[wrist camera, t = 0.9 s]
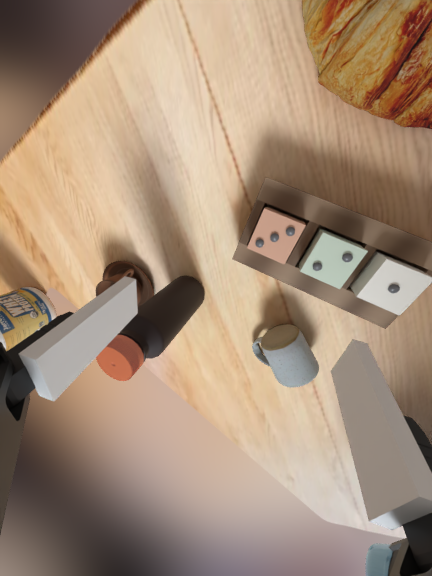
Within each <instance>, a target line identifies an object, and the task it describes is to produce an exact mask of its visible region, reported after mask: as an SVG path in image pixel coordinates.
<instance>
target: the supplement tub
mask: <svg viewBox="0 0 432 576" xmlns="http://www.w3.org/2000/svg"><path fill="white" fill-rule="evenodd" d="M55 318H56V311H55V308H54V306H53V304H52V302H51V301H50V299H49V298H48V297H47V296H46V295H45V294H44V293H43V292H42V291H40V290H38V289H36V288H33V287H24V288H21V289H18V290H15V291H12V292H9V293H6V294H3V295H1V296H0V342H2V344H3V346H4V348H5V350H6V351H8V350H9V349H11V348H13V347H14V346H15V345H17V344H18V343H20V342H21V341H23V340H24V339H26V338H27V337H29V336H30V335H31V334H33V333H34V332H36V331H37V330H40V328H42V327H43V326H45V325H47V324H48V323H49V322H50V321H52V320H53V319H55Z"/></svg>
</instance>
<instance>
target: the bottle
mask: <svg viewBox="0 0 432 576" xmlns="http://www.w3.org/2000/svg"><path fill="white" fill-rule="evenodd" d="M203 300H204V290H203V287H202V286H201V284H200V283H199V282H198V281H197V280H196V279H194V278H192V277H189V276H182V277H179V278H177V279H175V280H174V281H173V282H171V283H170V284H169V285H167V286H166V287H165V288H163V289H162V290H161V291H159V292H158V293H157V294H155V295H154V296H153V297H151V298H150V299H149V300H147V301H146V302H145V303H143V304H142V305H141V306H139V307H138V313H137V314H136V316H135V317H134V318H133V319H132V320H131V321H130V322H129V323H128V324H127V325H126V326H125V327H124V328H123V329H122V330H121V331H120V333H118V334H117V336H116V337H115V338H114V339H113V340H112V341H111V342H110V343H109V344H108V345H107V346H106V347H105V348H104V349H103V350H102V351H101V352H100V353H99V355H98V356H97V357H96V358H97V362H98V364H99V366H100V367H101V369H102V370H103V371H104V372H105V373H106V374H107V375H109V376H110V377H112V378H114V379H116V380H120V381H126V380H129V379H130V378H131V377H132V376H133V375H134V374H135V372H136V371H137V370H138V369H139V368H140V367H141V365H142V364H143V362H144V361H145V359H146V358H154V357H157V356H159V355H160V354H161V353H162V352H163V351H164V350H165V348H166V347H167V346H168V345H169V344H170V342H171V341H172V340H173V339H174V337H175V336H176V335H177V334H178V332H179V331H180V330H181V329H182V328H183V326H184V325H185V324H186V323H187V321H188V320H189V319H190V318H191V316H192V315H193V314H194V313H195V311H196V310H197V309H198V308H199V307H200V305H201V304H202V303H203Z"/></svg>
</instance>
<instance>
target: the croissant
mask: <svg viewBox="0 0 432 576" xmlns="http://www.w3.org/2000/svg"><path fill="white" fill-rule="evenodd" d="M302 11H303V18H304V22H305V24H304V31H305V34H306V37H307V43H308V46H309V49H310V51H311V53H312V55H313V57H314V60H315V63H316V65H317V67H318V70H319V76H318V82H319V83H320V84H321V85H323V86H324V87H326V88H327V89H328V90H329V91H331V92H333V93H334V94H336V95H339V97H340V98H341V99H342V100H343V101H344V102H346V103H348V104H350V105H352V106H354V107H356V108H358V109H363V110H366V111H368V112H369V113H371V114H372V115H375V116H378V117H381V118H385V119H389V120H394V122H395V123H396V124H398V125H400V126H402V127H425V128H429V129H432V0H302Z"/></svg>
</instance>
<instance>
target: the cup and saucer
mask: <svg viewBox="0 0 432 576" xmlns="http://www.w3.org/2000/svg"><path fill="white" fill-rule="evenodd" d="M125 276H126V277H130V278H133V279H136V288H137V308H138V307H139V306H141V305H142V304H143V303H145V302H146V301H147V300H149V299H150V298H151V297H153V296H154V292H153V287H152V285H151V282H150V280H149V279H148V277H147V276H146V274H145V273H144V272H143V271H142V270H141V269H140V268H138V267H137V266H135V265H134V264H132V263H129V262H125V261H117V262H113V263H111V264H109V265H108V266H107V267H106V269H105V271H104V273H103V281H101V282H100V283H99V284H98V285H97V287H96V296H99V295H100V294H101V293H103V292H104V291H105V290H107V289H108V288H110V287H111V286H112V285H114V284H115V283H116V282H118V281H119V280H121V279H122V278H123V277H125Z"/></svg>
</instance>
